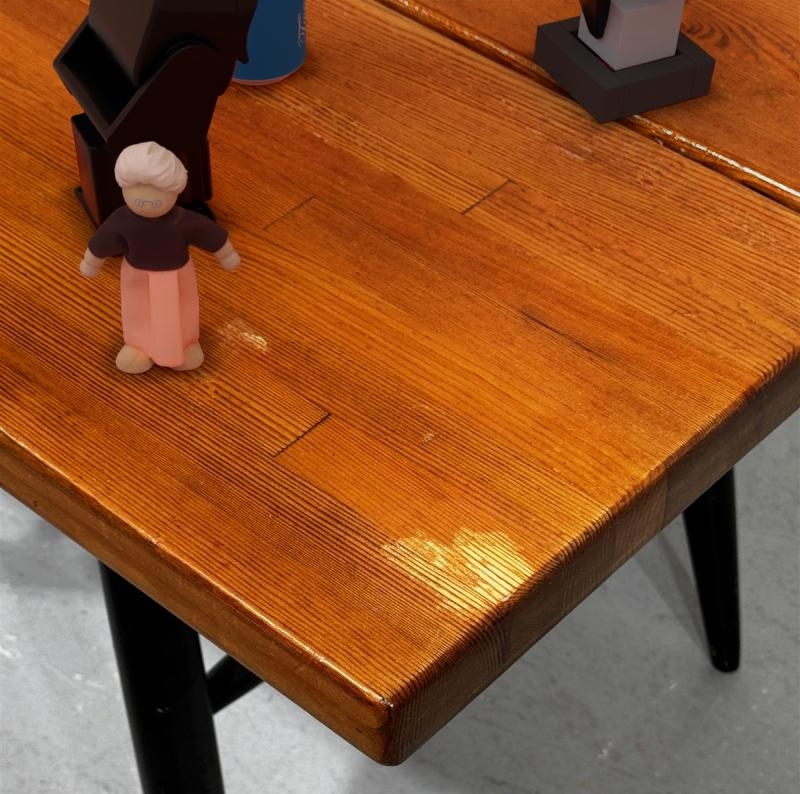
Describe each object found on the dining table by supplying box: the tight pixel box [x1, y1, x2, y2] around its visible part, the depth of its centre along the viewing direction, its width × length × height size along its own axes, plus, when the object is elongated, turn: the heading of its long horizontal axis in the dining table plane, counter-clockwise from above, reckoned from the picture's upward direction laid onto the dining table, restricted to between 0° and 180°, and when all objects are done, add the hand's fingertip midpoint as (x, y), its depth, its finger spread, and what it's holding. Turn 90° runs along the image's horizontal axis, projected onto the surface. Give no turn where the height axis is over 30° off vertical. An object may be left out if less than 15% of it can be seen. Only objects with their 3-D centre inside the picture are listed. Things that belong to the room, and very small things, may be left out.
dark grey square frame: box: [533, 14, 717, 124], centre depth 94 cm, size 8×8×2 cm
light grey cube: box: [578, 0, 686, 72], centre depth 92 cm, size 4×4×4 cm
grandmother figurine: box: [79, 142, 241, 375], centre depth 71 cm, size 8×4×13 cm, turn 106°
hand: (627, 28), depth 92 cm, fingers closed on light grey cube, 4 cm apart
